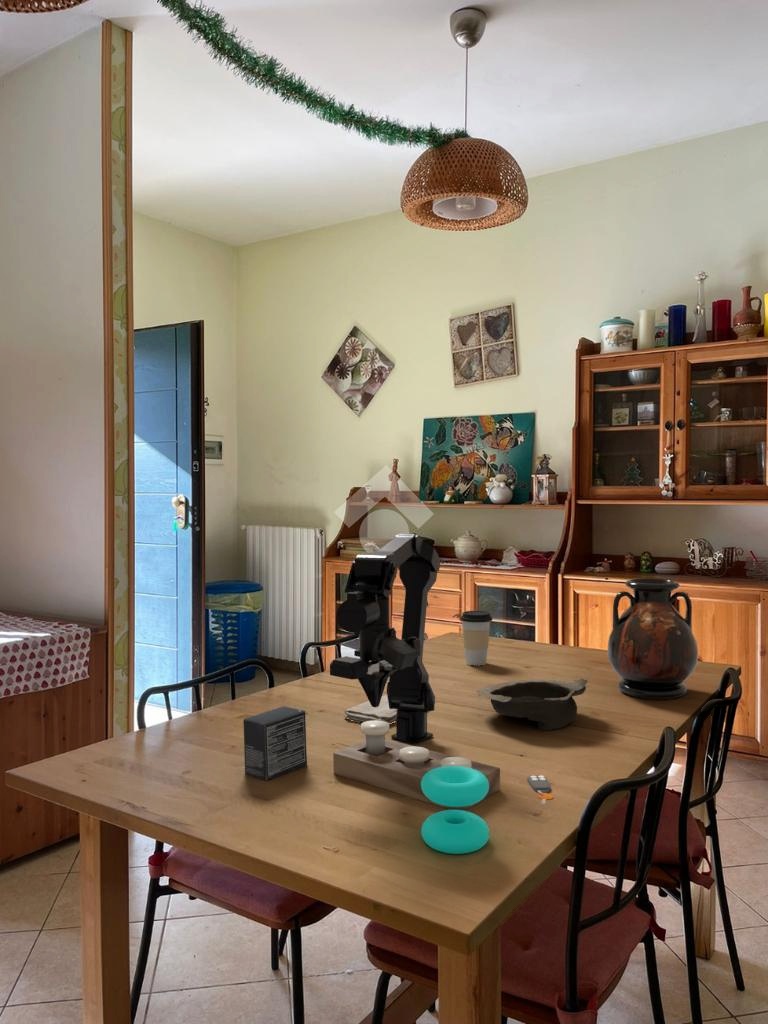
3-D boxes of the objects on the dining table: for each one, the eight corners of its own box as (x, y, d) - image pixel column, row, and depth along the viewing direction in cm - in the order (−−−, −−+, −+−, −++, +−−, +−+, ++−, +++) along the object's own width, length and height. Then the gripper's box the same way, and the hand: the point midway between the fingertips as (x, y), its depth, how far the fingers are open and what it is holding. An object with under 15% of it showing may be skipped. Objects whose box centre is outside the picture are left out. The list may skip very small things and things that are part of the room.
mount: (375, 755, 154) (375, 736, 154) (500, 789, 136) (499, 768, 136) (333, 773, 145) (333, 752, 145) (461, 812, 127) (460, 789, 127)
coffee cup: (455, 661, 235) (455, 611, 234) (484, 659, 237) (484, 609, 237) (468, 668, 226) (467, 616, 225) (498, 665, 228) (497, 614, 228)
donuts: (502, 774, 117) (458, 793, 110) (503, 841, 117) (459, 864, 110) (451, 758, 124) (406, 775, 117) (451, 821, 124) (407, 841, 117)
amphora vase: (684, 682, 208) (684, 576, 207) (709, 704, 187) (710, 586, 186) (600, 680, 210) (600, 576, 209) (616, 703, 189) (616, 586, 188)
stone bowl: (594, 738, 163) (591, 693, 162) (473, 740, 168) (469, 697, 167) (588, 703, 187) (585, 664, 187) (482, 706, 192) (479, 668, 192)
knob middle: (411, 772, 144) (411, 744, 144) (434, 779, 141) (434, 750, 141) (393, 781, 140) (393, 752, 140) (417, 788, 137) (416, 758, 137)
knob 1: (373, 745, 150) (373, 718, 150) (395, 751, 147) (394, 723, 146) (355, 753, 146) (355, 725, 146) (377, 759, 143) (376, 730, 142)
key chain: (524, 782, 141) (524, 773, 141) (545, 781, 141) (545, 773, 141) (540, 812, 128) (540, 803, 128) (563, 811, 128) (563, 802, 128)
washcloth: (341, 721, 178) (341, 708, 178) (386, 703, 193) (386, 690, 193) (384, 730, 171) (384, 716, 171) (428, 710, 186) (427, 697, 186)
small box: (284, 758, 153) (283, 704, 153) (308, 765, 149) (307, 710, 149) (242, 773, 145) (241, 717, 145) (266, 782, 141) (265, 723, 141)
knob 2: (452, 784, 139) (452, 754, 138) (477, 791, 135) (477, 761, 135) (435, 793, 134) (434, 763, 134) (460, 800, 131) (460, 769, 131)
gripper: (375, 635, 133) (376, 727, 134) (439, 620, 147) (440, 702, 148) (327, 628, 140) (328, 715, 141) (392, 614, 154) (393, 693, 155)
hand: (375, 706), depth 146 cm, fingers closed
